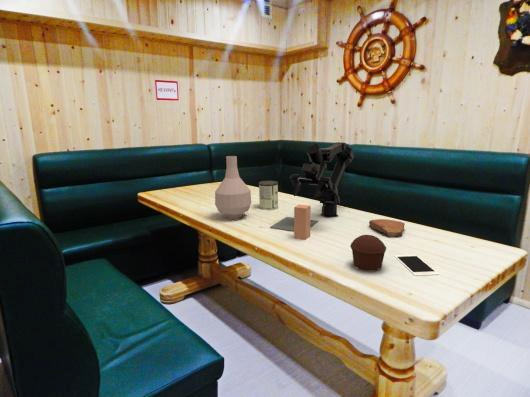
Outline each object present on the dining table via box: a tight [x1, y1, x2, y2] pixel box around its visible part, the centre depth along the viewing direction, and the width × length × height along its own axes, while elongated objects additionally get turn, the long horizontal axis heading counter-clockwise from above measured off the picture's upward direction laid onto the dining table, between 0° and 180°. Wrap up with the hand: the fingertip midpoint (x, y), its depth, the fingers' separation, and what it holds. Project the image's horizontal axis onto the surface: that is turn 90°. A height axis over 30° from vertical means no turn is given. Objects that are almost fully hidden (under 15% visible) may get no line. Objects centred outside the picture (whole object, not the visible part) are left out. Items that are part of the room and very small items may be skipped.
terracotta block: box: [293, 203, 311, 241], centre depth 144 cm, size 5×5×13 cm
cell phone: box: [394, 254, 440, 277], centre depth 117 cm, size 8×16×1 cm, turn 3°
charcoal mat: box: [269, 216, 319, 233], centre depth 162 cm, size 18×16×1 cm
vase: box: [214, 155, 252, 220], centre depth 173 cm, size 18×18×30 cm
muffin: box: [350, 234, 387, 272], centre depth 116 cm, size 12×11×10 cm
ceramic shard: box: [368, 218, 405, 238], centre depth 150 cm, size 15×6×15 cm
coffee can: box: [258, 180, 279, 211], centre depth 192 cm, size 10×10×14 cm
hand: (303, 196), depth 151 cm, fingers open, 9 cm apart
